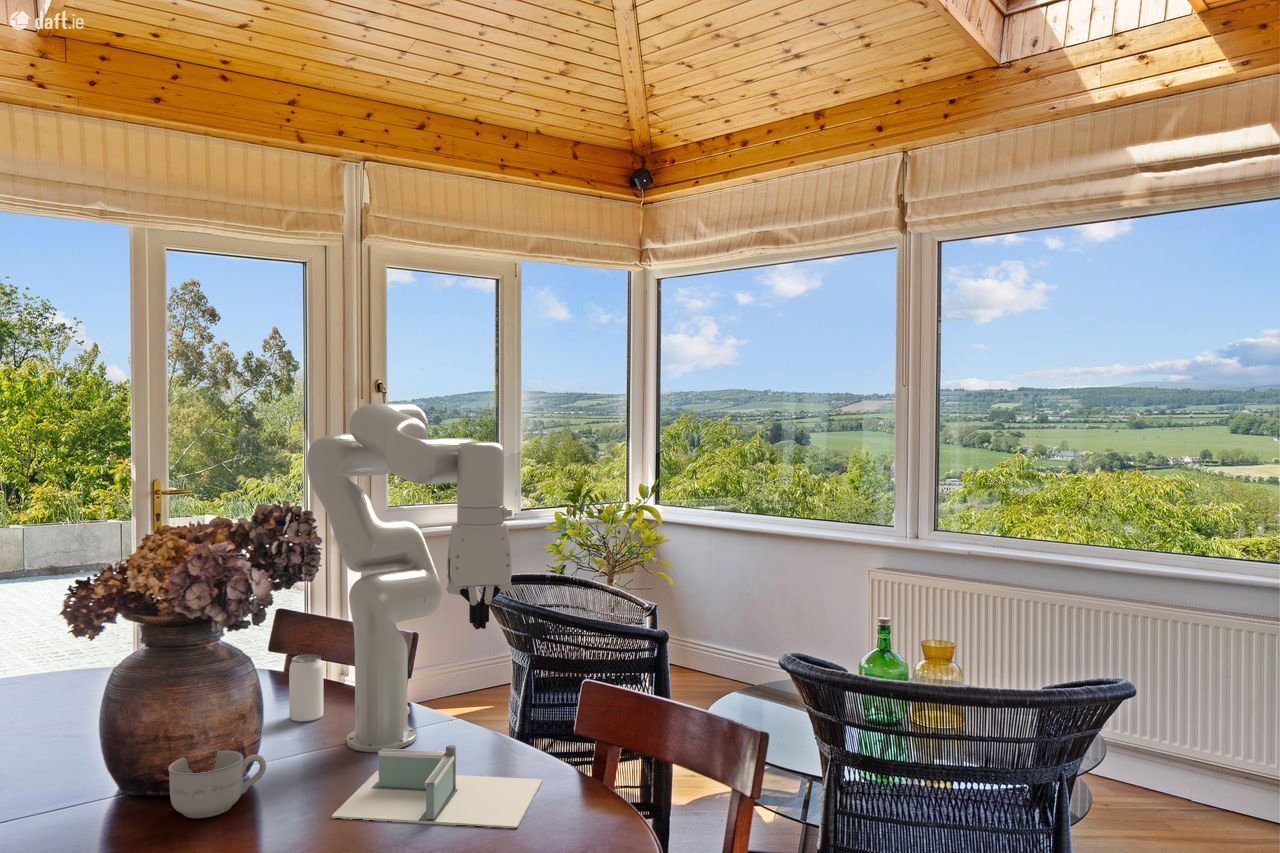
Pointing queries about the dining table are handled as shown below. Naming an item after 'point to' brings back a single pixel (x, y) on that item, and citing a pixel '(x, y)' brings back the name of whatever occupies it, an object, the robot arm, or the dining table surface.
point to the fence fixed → (411, 766)
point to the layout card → (446, 802)
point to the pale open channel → (439, 786)
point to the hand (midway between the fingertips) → (479, 626)
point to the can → (306, 688)
